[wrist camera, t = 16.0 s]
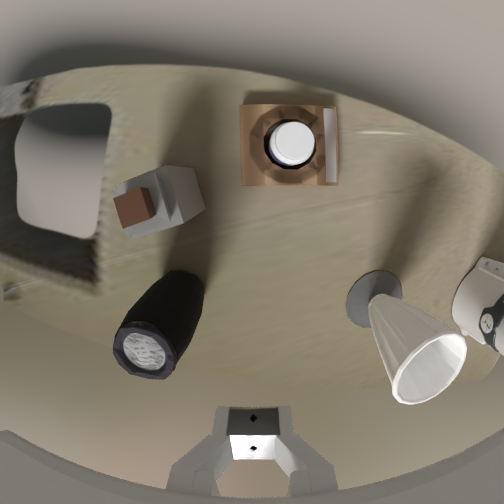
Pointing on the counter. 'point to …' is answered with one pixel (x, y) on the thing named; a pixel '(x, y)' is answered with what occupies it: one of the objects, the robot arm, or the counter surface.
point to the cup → (406, 338)
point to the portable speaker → (160, 326)
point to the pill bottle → (291, 144)
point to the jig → (268, 115)
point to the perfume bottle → (158, 200)
